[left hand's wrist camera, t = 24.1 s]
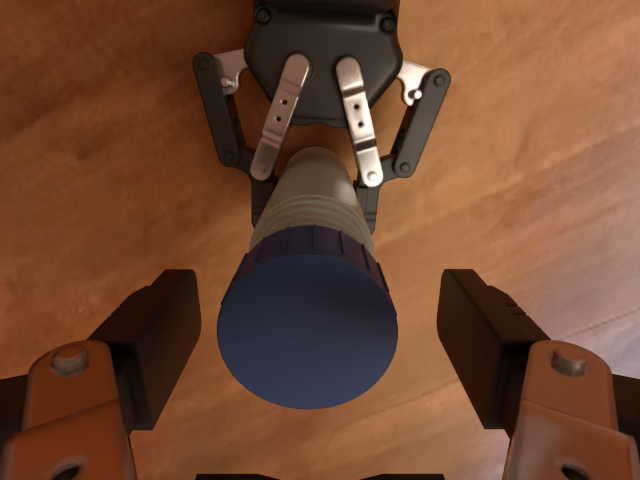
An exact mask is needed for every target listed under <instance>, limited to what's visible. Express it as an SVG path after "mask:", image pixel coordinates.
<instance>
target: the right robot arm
mask: <svg viewBox="0 0 640 480" xmlns="http://www.w3.org/2000/svg"><path fill="white" fill-rule="evenodd" d="M399 6H400V0H253V24H252V28H251V31H250V34H249V36H248V38H247V39H246V41H245V44H244V48H243V49H239V50H235V51H230V52H225V53H221V54H216V55H212V54H209V53H207V52H199V53H197V54H196V55H195V56H194V58H193V69H194V72H195V76H196V79H197V83H198V87H199V90H200V94H201V97H202V101H203V105H204V108H205V112H206V115H207V119H208V122H209V126H210V130H211V133H212V137H213V140H214V144H215V148H216V151H217V155H218V158H219V161H220V162H221V163H222V164H223V165H224V166H227V167H234V168H237V169H239V170H241V171H243V172H245V173H246V174H247V175H248V176H249V177H250V179H251V183H252V225H253V227H254V229H255V227H256V225H257V223H258V221H259V219H260V217H261V215H262V213H263V211H264V209H265V207H266V205H267V203H268V201H269V199H270V197H271V195H272V193H273V191H274V189H275V187H276V185H277V183H278V175H275V167H276V164H277V161H278V159H279V156H280V153H281V151H282V148H283V146H284V143H285V141H286V138H287V136H288V133H289V131H290V128H291V126H292V125H303V126H306V125H310V124H315V123H323V124H325V125H328V126H331V127H335V128H347V131H348V135H349V138H350V142H351V145H352V149H353V153H354V157H355V161H356V165H357V169H358V175H357V180H353V188H354V191H355V193H356V196H357V199H358V201H359V204H360V207H361V209H362V212H363V214H364V217H365V220H366V222H367V225H368V228H369V230H370V233H371V235H372V233H373V232H374V230H375V222H376V221H375V220H376V213H377V204H378V195H379V189H380V187H381V186H382V184H383V183H385V182H386V181H388V180H392V179H395V178H399V177H401V178H408V177H410V176H411V175H412V174H413V173H414V172H415V169H416V167H417V164H418V162H419V159H420V157H421V155H422V152H423V150H424V147H425V145H426V142H427V140H428V137H429V135H430V132H431V130H432V127H433V125H434V122H435V120H436V117H437V115H438V113H439V110H440V108H441V105H442V103H443V100H444V98H445V95H446V93H447V90H448V88H449V85H450V82H451V76H450V74H449V72H448V71H447V70H445V69H442V68H439V69H429V68H426V67H423V66H420V65H418V64H415V63H412V62H409V61H407V60H404V59H403V53H402V50H401V48H400V45H399V42H398V36H397V24H398V14H399ZM247 69H249V70H250V72H251V73H252V75H253V76H254V78H255V79H256V81H257V82H258V84H259V86H260V87H261V89H262V90H263V92H264V93H265V95H266V96H267V98H268V100H269V101H270V103H271V104H272V105H271V108H270V110H269V113H268V116H267V119H266V122H265V124H264V127H263V130H262V133H261V138H260V141H259V144H258V147H257V150H255V149H253V148H251V147H248V146H246V143H245V139H244V135H243V131H242V127H241V123H240V120H239V116H238V112H237V108H236V104H235V100H234V96H233V95H234V94H236V93H238V92H239V91H240V89H241V87H242V80H241V79H242V75H243V73H244V72H245V71H246V70H247ZM395 79H397V80H399V82H400V83H401V87H402V90H401V100H402V102H403V103H404V104H405V105H407V106H408V107H407V109H406V112H405V115H404V117H403V120H402V123H401V125H400V128H399V131H398V133H397V136H396V138H395V141H394V144H393V146H392V149H391V152H390V154H389V155H386V156H382V157H379V155H378V151H377V146H376V138H375V133H374V129H373V124H372V120H371V116H370V111H369V110H370V109H371V108H372V107H373V106H374V104H375V103H376V102H377V101H378V99H379V98H380V97H381V96H382V95H383V93H384V92H385V91H386V90H387V88H388V87H389V86H390V85H391V84H392V82H393V81H394V80H395Z"/></svg>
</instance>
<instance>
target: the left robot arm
mask: <svg viewBox="0 0 640 480" xmlns="http://www.w3.org/2000/svg"><path fill="white" fill-rule="evenodd" d="M437 331H438V336H439V339H440V341H441V343H442V345H443V347H444V349H445V351H446V353H447V355H448V357H449V359H450V361H451V363H452V365H453V367H454V369H455V371H456V373H457V375H458V377H459V379H460V381H461V383H462V385H463V387H464V389H465V391H466V393H467V395H468V397H469V399H470V401H471V403H472V405H473V407H474V409H475V411H476V413H477V415H478V417H479V419H480V421H481V423H482V425H483V427H484V429H504V430H505V431H506V433H507V435H508V437H509V439H510V442H509V446H508V451H507V456H506V461H505V466H504V471H503V477H502V480H640V379H636V378H631V377H626V376H620V375H615V374H612V373H611V369H610V368H609V366H608V365H607V363H606V362H605V361H604V360H603V359H601V358H600V357H599V356H597V355H596V354H594V353H593V352H591V351H589V350H587V349H585V348H583V347H580V346H578V345H575V344H571V343H568V342H563V341H557V340H551V339H550V338H549V337H548V336H547V335H546V334H545V333H544V332H543V331H542V330H541V329H540V327H539V326H538V325H537V324H536V323H535V322H534V321H533V320H532V319H531V318H530V317H529V316H526V313H525V312H524V311H523V310H522V309H521V308H520V307H518V305H517V304H516V302H515V301H514V300H513V299H512V298H511V297H510V296H509V295H508V294H506V293H504V292H502V291H501V290H499V289H497V288H495V287H493V286H487V284H486V283H485V282H484V281H483V280H482V279H481V278H480V277H479V276H478V274H477V273H476V272H475V271H474V270H473V269H445V270H444V271H443V274H442V278H441V286H440V294H439V303H438V311H437ZM200 332H201V312H200V304H199V296H198V287H197V279H196V274H195V272H194V271H193V270H192V269H166V270H164V271H163V272H162V273H161V275H160V276H159V277H158V278H157V279H156V280H155V281H154V282H153V283H152V284H151V286H145V287H143V288H141V289H140V290H138V291H136V292H134V293H132V294H131V295H129V296H128V297H127V298H126V299H125V300H124V301H123V302H122V303H121V304H120V307H118V308H117V309H116V310H115V311H114V312H113V313H112V314H111V316H109V317H108V318H107V319H106V320H105V321H104V322H103V323H102V324H101V325H100V326H99V327H98V328H97V329H96V330H95V331H94V332H93V333H92V334H91V335H90V336H89V337H88V338H87V340H83V341H77V342H72V343H69V344H65V345H62V346H60V347H57V348H55V349H53V350H51V351H49V352H47V353H46V354H44V355H43V356H41V357H40V358H39V359H37V360H36V361H35V362H34V363H33V365H32V366H31V368H30V369H29V373H28V374H26V375H22V376H16V377H11V378H6V379H1V380H0V480H138V477H137V471H136V466H135V461H134V456H133V451H132V446H131V442H130V437H129V436H130V434H131V432H132V430H153V428H154V426H155V424H156V423H157V421H158V419H159V417H160V415H161V413H162V411H163V409H164V407H165V405H166V403H167V401H168V399H169V397H170V395H171V393H172V391H173V389H174V387H175V385H176V383H177V381H178V379H179V377H180V375H181V373H182V371H183V369H184V367H185V365H186V363H187V361H188V359H189V357H190V355H191V353H192V351H193V349H194V347H195V345H196V343H197V341H198V339H199V336H200ZM195 480H279V479H275V478H271V477H268V476H264V475H260V474H197V476H196V479H195ZM361 480H445V479H444V476H443V474H380V475H376V476H372V477H369V478H365V479H361Z"/></svg>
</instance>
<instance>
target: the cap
mask: <svg viewBox="0 0 640 480" xmlns="http://www.w3.org/2000/svg"><path fill="white" fill-rule="evenodd" d="M221 305H222V306H221V309H220V312H219V316H218V322H217V339H218V345H219V349H220V352H221V355H222V358H223V360H224V362H225V364H226V366H227V367H228V369H229V370H230V372H231V373H232V375H233V376H234V377H235V378H236V379H237V380H238V381H239V382H240V383H241V384H242V385H243V386H244V387H245V388H246V389H248V390H249V391H251V392H252V393H254V394H255V395H257V396H258V397H260V398H262V399H264V400H266V401H269V402H271V403H274V404H277V405H281V406H284V407H289V408H295V409H321V408H328V407H332V406H336V405H340V404H343V403H345V402H348V401H350V400H352V399H354V398H356V397H358V396H360V395H361V394H363V393H364V392H366V391H367V390H369V389H370V388H371V387H372V386H373V385H374V384H376V382H377V381H378V380H379V379H380V378H381V377H382V376H383V374H384V373H385V371H386V370H387V368H388V367H389V365H390V363H391V361H392V359H393V356H394V353H395V350H396V346H397V340H398V325H397V318H396V316H397V313H396V311H395V308H394V305H393V302H392V299H391V297H390V294H389V289H388V286H387V283H386V280H385V278H384V275H383V272H382V269H381V267H380V264H379V262H378V263H377V262H376V261H375V259H374V258H373V256H372V255H371V254H370V252H369V251H368V250H367V249H366V248H365V245H364V244H363V243H362V244H361V243H359V242H358V241H357V240H355V239H354V238H352V237H351V236H349V235H347V234H345V233H343V231H342V230H340V231H338V230H335V229H332V228H329V227H324V226H317V224H314V225H302V226H294V227H290V226H288V227H287V228H286V229H283V230H279V231H277V232H275V233H273V234H271V235H269V236H267V237H265V236H264V237H263V238H262V240H261V241H260V242H259V243H258V244H257V245H255V246H254V247H253V248H252V250H251V251H250V252H249V253H248V254H247V253H246V254H245V255H244V257H243V259H242V261H241V263H240V265H239V268H238V270H237V272H236V274H235V275H234V277H233V279H232V281H231V283H230V285H229V287H228V289H227V291H226V293H225V296H224V298H223V300H222V302H221Z"/></svg>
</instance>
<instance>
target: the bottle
mask: <svg viewBox="0 0 640 480" xmlns="http://www.w3.org/2000/svg"><path fill="white" fill-rule="evenodd" d="M314 224H317V226H324V227H329V228H332V229H335V230H338V231H340V230H342V231H343V233H345V234H347V235H349V236H351V237H352V238H354V239H355V240H357V241H358V242H359V243H361V244H362V243H363V244H364V245H365V248H366V249H367V250H368V251H369V252H370V254H371V255H372V256H373V258H374V245H373V239H372V236H371V233H370V230H369V228H368V225H367V222H366V220H365V217H364V214H363V212H362V209H361V207H360V204H359V201H358V199H357V196H356V193H355V191H354V188H353V185H352V183H351V180H350V177H349V175H348V172H347V170H346V167H345V165H344V163H343V161H342V159H341V158H340V157H339V156H338V155H337V154H336V153H335V152H333V151H332V150H330V149H328V148H325V147H320V146H312V147H307V148H304V149H302V150H300V151H298V152H297V153H296V154H295V155H294V156H292V158H291V159H290V160H289V162H288V164H287V166H286V168H285V170H284V172H283V174H282V176H281V178H280V180H279V182H278V183H277V185H276V187H275V189H274V191H273V193H272V195H271V197H270V199H269V201H268V203H267V205H266V207H265V209H264V211H263V213H262V215H261V217H260V219H259V221H258V223H257V225H256V227H255V229H254V232H253V234H252V238H251V241H250V251H251V250H252V248H253V247H254V246H255V245H257V244H258V243H259V242H260V241H261V240H262V238H263V237H264V236H265V237H267V236H269V235H271V234H273V233H275V232H277V231H279V230H283V229H286V228H287V227H288V226H290V227H294V226H302V225H314Z"/></svg>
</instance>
